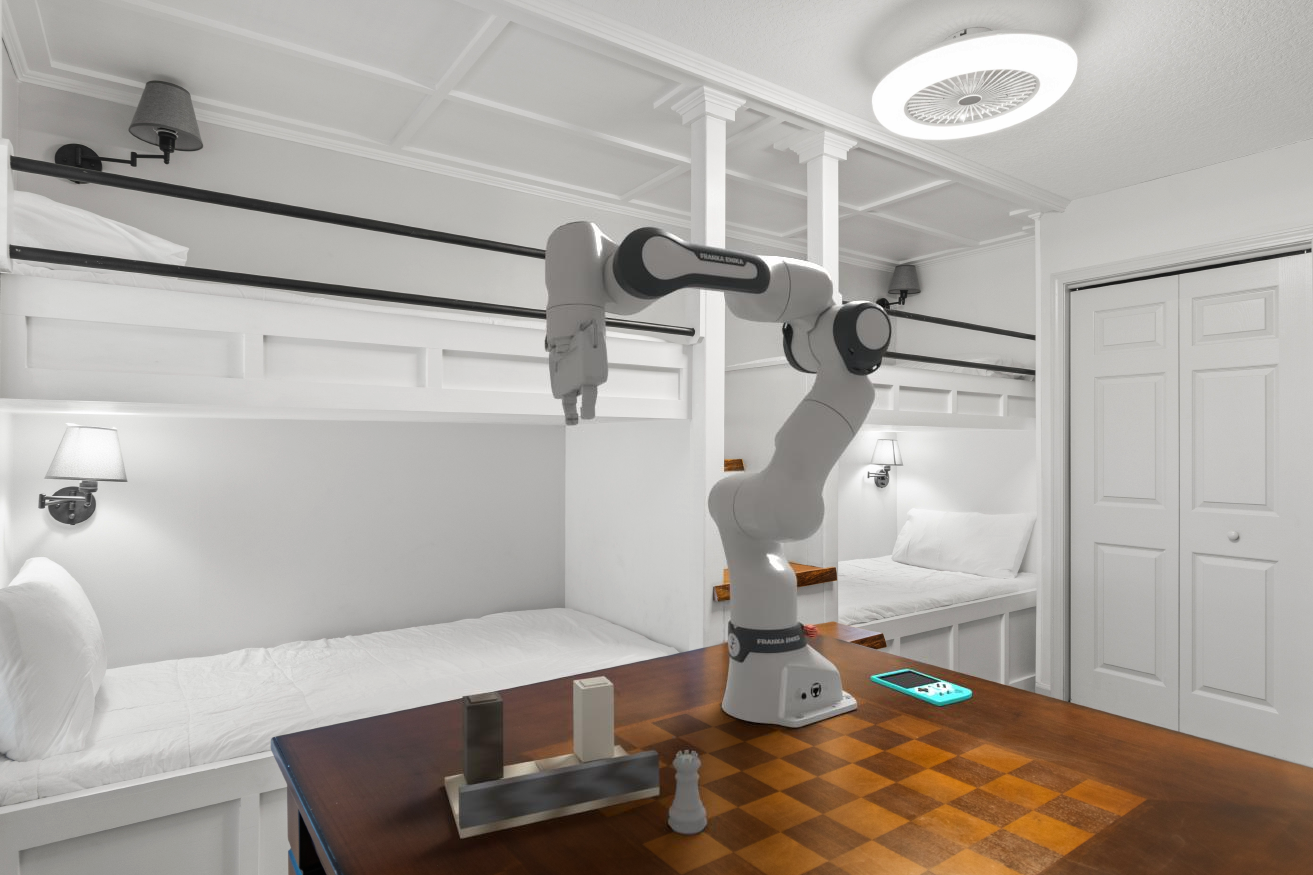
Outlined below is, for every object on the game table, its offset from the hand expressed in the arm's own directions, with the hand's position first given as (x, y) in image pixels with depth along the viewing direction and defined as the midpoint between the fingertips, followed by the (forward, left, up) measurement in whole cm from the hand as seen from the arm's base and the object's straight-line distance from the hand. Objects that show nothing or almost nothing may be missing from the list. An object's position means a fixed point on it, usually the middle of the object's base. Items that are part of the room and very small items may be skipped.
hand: (579, 422), depth 105 cm
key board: (+8, +13, -47) cm, 50 cm away
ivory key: (+1, +8, -46) cm, 47 cm away
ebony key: (+16, +8, -46) cm, 49 cm away
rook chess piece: (-4, +28, -47) cm, 55 cm away
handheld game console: (-63, +3, -48) cm, 79 cm away
